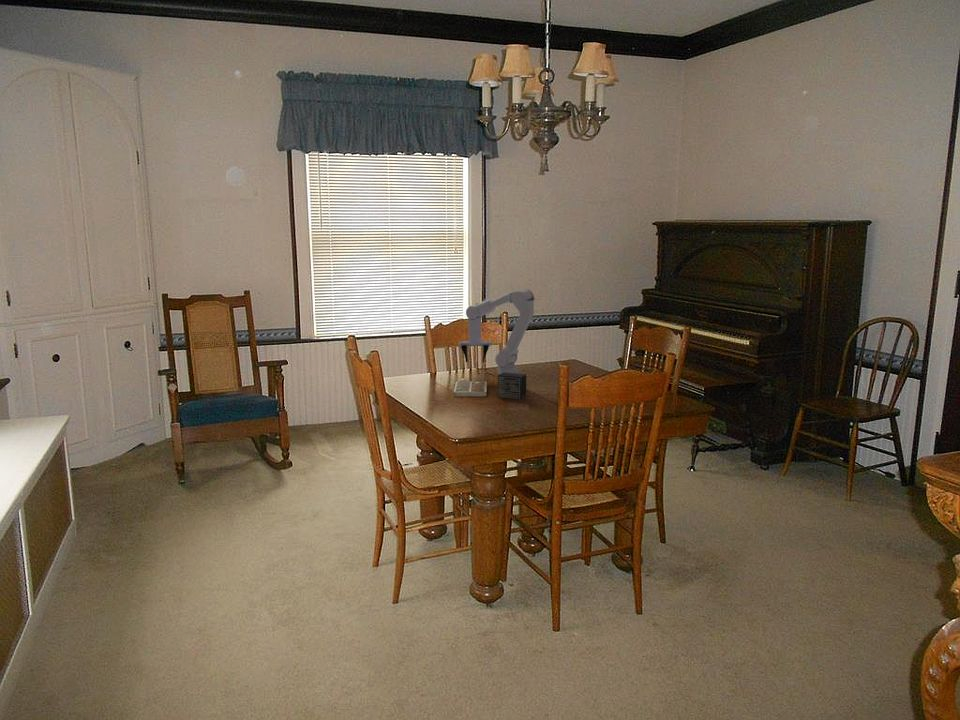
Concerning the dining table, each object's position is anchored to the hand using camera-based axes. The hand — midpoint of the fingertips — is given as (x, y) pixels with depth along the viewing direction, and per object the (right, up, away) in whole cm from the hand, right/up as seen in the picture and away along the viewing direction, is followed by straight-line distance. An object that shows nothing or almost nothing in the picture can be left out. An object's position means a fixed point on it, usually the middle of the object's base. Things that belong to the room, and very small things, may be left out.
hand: (475, 361), depth 325 cm
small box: (+16, -15, -29) cm, 36 cm away
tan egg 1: (+1, -11, -12) cm, 17 cm away
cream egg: (-5, -12, -18) cm, 23 cm away
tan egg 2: (+1, -13, -25) cm, 28 cm away
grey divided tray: (-2, -13, -18) cm, 23 cm away
